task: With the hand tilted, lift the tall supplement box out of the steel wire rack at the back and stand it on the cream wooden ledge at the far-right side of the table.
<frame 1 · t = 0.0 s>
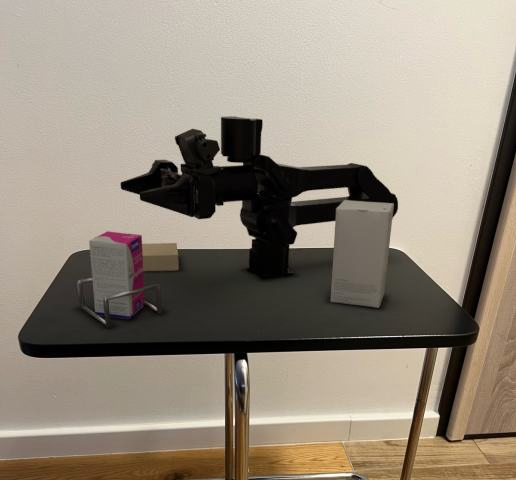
hand: (130, 191, 82), 17 cm above the table, tool horizontal, fingers open, 9 cm apart
rack: (120, 310, 83), on the table
cosmetic box: (356, 300, 90), on the table
supplement box: (121, 311, 83), on the table
ledge: (146, 264, 103), on the table
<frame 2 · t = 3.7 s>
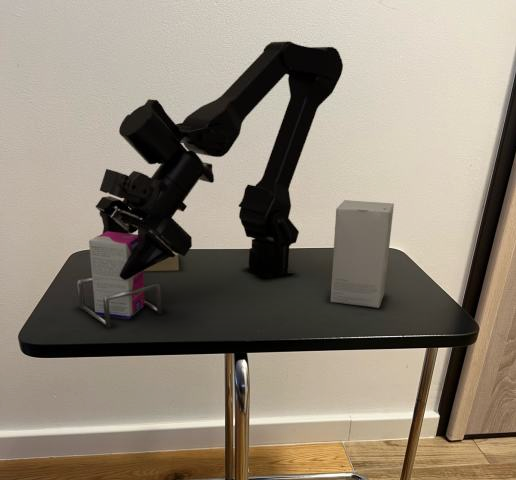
hand: (108, 270, 79), 7 cm above the table, tool tilted 45°, fingers closed on supplement box, 7 cm apart
supplement box: (121, 311, 83), on the table, touching gripper, rack
everything else where it was.
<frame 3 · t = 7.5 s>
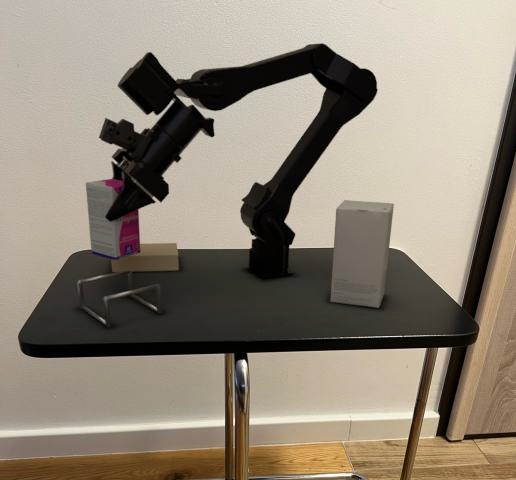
hand: (104, 213, 86), 12 cm above the table, tool tilted 45°, fingers closed on supplement box, 7 cm apart
supplement box: (117, 255, 89), point 6 cm above the table, touching gripper
everything else where it was.
when the fingers open (10 cm above the table, at t = 11.1 s): supplement box stays where it is, resting on ledge.
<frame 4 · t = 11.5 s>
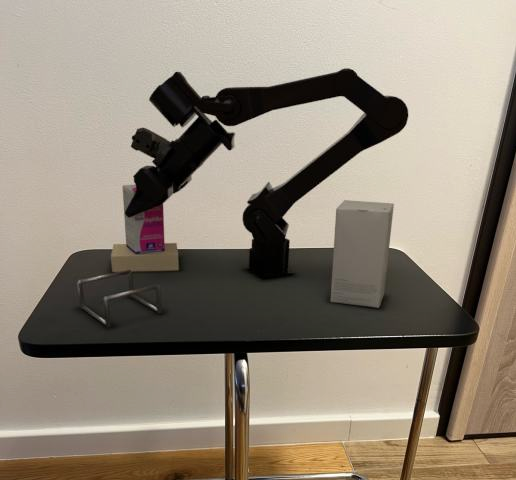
hand: (134, 209, 99), 10 cm above the table, tool tilted 45°, fingers open, 9 cm apart
supplement box: (145, 250, 102), point 3 cm above the table, touching ledge
everything else where it was.
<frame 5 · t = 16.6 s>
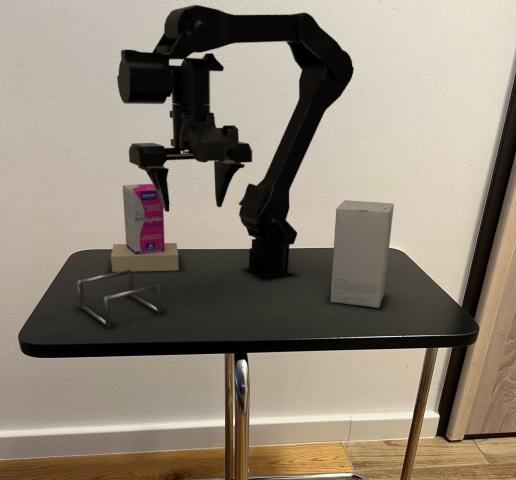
hand: (193, 209, 88), 13 cm above the table, tool pointing down, fingers open, 9 cm apart
nothing on the table moved.
at the end: supplement box inside the target area on the ledge (0.1 cm from its centre), point 2.8 cm above the ledge's base; supplement box tilted 0°; the gripper is holding nothing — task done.
